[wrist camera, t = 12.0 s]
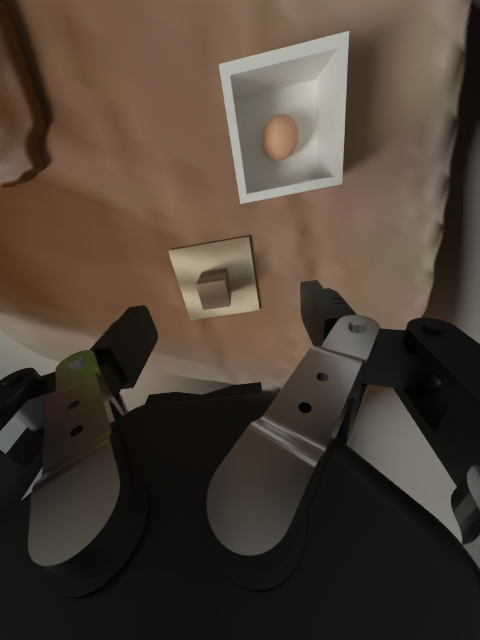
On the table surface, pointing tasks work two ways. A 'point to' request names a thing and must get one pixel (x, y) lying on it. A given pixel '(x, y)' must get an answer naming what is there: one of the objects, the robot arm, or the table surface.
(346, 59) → the off-white box
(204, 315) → the oak lid
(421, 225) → the table surface
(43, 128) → the plant
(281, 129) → the terracotta ball
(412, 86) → the table surface
